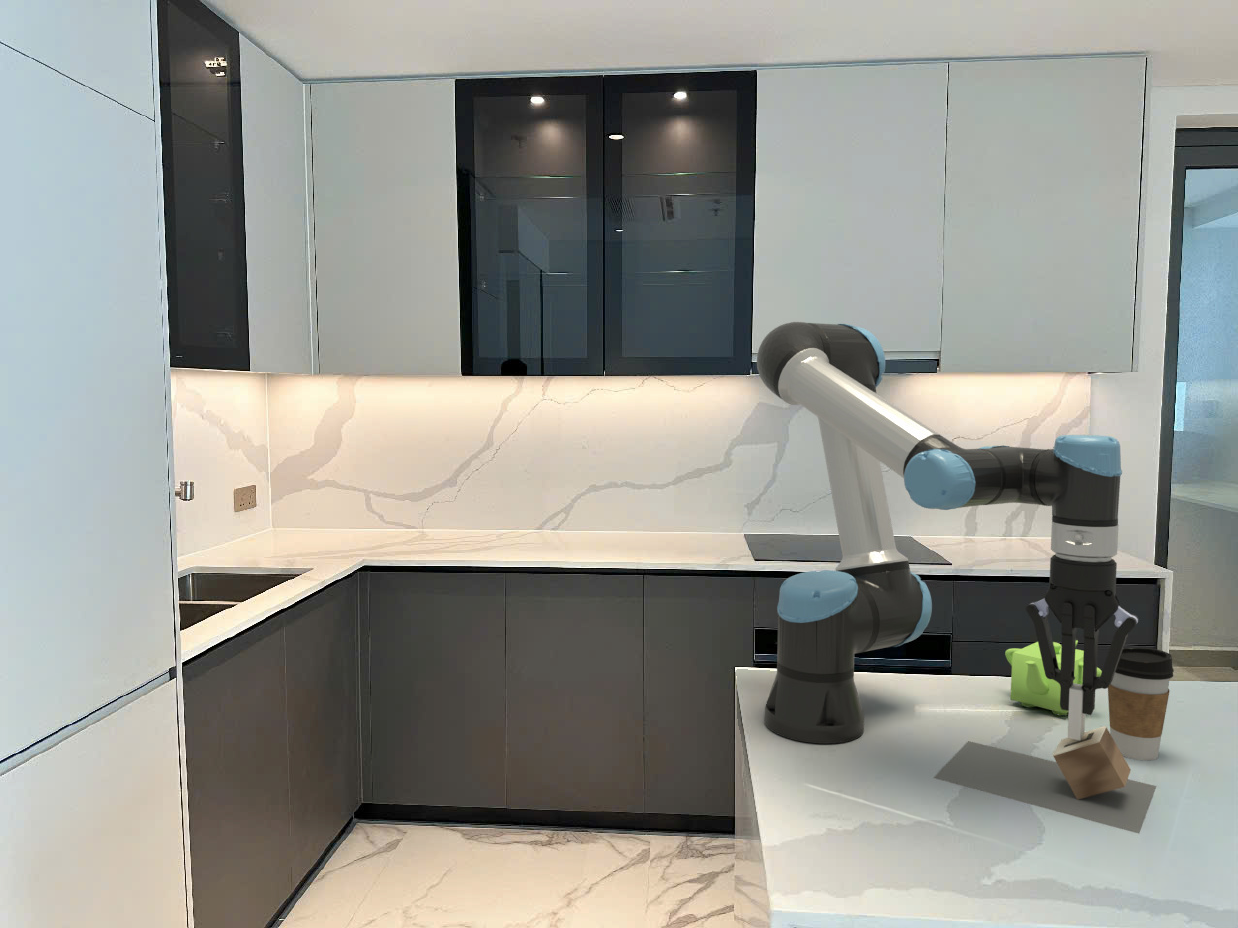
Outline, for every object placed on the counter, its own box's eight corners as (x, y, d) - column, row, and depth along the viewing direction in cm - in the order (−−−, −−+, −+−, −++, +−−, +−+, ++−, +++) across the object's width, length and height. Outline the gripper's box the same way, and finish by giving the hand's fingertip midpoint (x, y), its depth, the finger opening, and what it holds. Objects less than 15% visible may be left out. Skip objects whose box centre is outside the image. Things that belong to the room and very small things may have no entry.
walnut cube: (1098, 740, 110) (1124, 786, 109) (1105, 725, 115) (1130, 769, 114) (1052, 754, 114) (1077, 799, 112) (1060, 739, 119) (1085, 782, 117)
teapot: (1073, 692, 154) (1076, 632, 153) (1118, 720, 141) (1122, 655, 140) (986, 691, 154) (989, 631, 153) (1023, 720, 140) (1027, 655, 139)
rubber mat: (933, 779, 118) (933, 777, 118) (968, 742, 131) (968, 740, 131) (1139, 835, 104) (1139, 833, 104) (1156, 788, 116) (1156, 785, 116)
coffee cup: (1178, 768, 123) (1185, 662, 121) (1112, 762, 124) (1118, 658, 123) (1154, 744, 131) (1160, 645, 130) (1092, 739, 133) (1098, 642, 131)
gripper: (1021, 554, 114) (1015, 732, 116) (1137, 566, 106) (1128, 757, 108) (1035, 546, 120) (1029, 716, 122) (1146, 557, 112) (1137, 738, 114)
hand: (1076, 735), depth 115 cm, fingers closed
